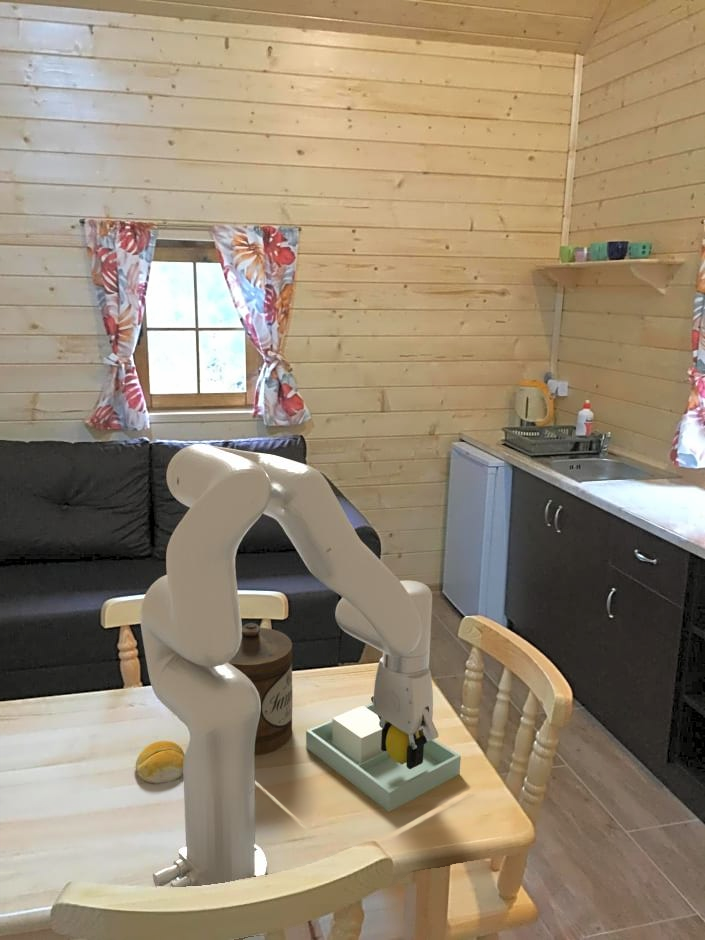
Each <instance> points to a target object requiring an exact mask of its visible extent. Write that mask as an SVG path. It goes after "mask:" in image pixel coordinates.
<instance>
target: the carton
mask: <svg viewBox="0 0 705 940" xmlns="http://www.w3.org/2000/svg"><path fill="white" fill-rule="evenodd" d="M364 706H365V705H361V706H358V707H355V708H353V709H351V710H348V711H346V712H344V713H342V714H339V715H336V716H334V717H332V719H331V720H332V743H333V744H334V745H335V746H337V747H338V748H339V749H341V750H342V751H344V752H345V753H346V754H348V755H349V756H350V757H352V758H353V759H354V760H356V761H357V762H358V763H362V762H364V761H366V760H368V759H370V758H372V757H375V756H377V755H379V754H381V753H383V752H385V751H382V750H381V738H382V729H383V728H381V727H380V725H379V722H380V719H379V717H378V715H377V714H375V713H374V712H372V711H370V710H369V709H367V708H366V707H364Z"/></svg>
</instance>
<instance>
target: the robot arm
mask: <svg viewBox="0 0 705 940" xmlns="http://www.w3.org/2000/svg"><path fill="white" fill-rule="evenodd" d="M166 483H167V484H166V485H167V487H168V490H169V491H170V493H171V495H172V496H173V497H174V498H175V499H176V500H177V501H178V502H179V503H180V504H182V505H184V506H186V507H188V508H189V509H188V510H187V512H185V514H184V516H183V517H182V519H181V520H180V521H179V522H178V525H176V527H175V529H174V531H173V532H172V534H171V536H170V538H169V541H168V544H167V547H166V552H165V553H166V556H165V561H166V562H165V564H166V565H165V566H166V567H165V568H166V569H165V570H166V574H165V575H163V576H161V577H159V578H157V580H155V581H154V582H153V583H152V584H151V585H150V587H148V589H147V591H146V593H145V595H144V597H143V600H142V602H141V607H140V618H139V619H140V628H141V636H142V642H143V647H144V654H145V655H144V656H145V660H146V665H147V673H148V676H149V682H150V685H151V688H152V691H153V692H154V695H155V697H156V698H157V699H158V701H159V702H160V703H161V704H162V705H163V706H164V707H166V709H168V710H169V711H170V712H171V713H173V715H175V716H176V717H177V718H178V719H179V721H181V722H182V723H183V724H184V725H185V726H186V728H187V730H188V732H189V742H188V745H187V747H186V750H185V751H184V761H183V773H182V778H183V779H182V780H183V798H184V799H183V801H184V802H183V803H184V822H185V823H184V824H185V825H184V826H185V831H184V832H185V847H182V848H180V849H179V851H178V855H179V857H178V858H179V859H177V860H175V861H173V865H171V866H168V867H164V868H162V869H160V870H158V871H157V872H155V873H153V874H152V879H153V880H152V881H153V883H154V885H155V887H156V886H162V887H163V886H165V885H167V884H170V887H171V886H172V887H186V886H202V885H211V884H218V883H225V882H230V881H235V880H239V879H245V878H251V877H256V876H260V875H265V874H266V875H267V869H268V867H267V866H268V865H267V859H266V855H265V853H264V852H263V851H262V849H261V848H260V847H259V846H258V845H257V844H256V810H255V809H256V805H255V804H256V802H255V799H256V798H255V797H256V795H255V790H256V789H255V756H254V751H255V738H256V732H257V727H258V722H259V717H260V711H261V701H260V696H259V693H258V691H257V689H256V687H255V686H254V684H253V683H252V682H251V680H250V679H249V678H248V677H247V676H246V675H245V674H243V673H242V672H241V671H240V670H238V669H237V668H235V667H234V666H232V665H231V664H229V663H228V662H229V661H230V660H231V659H232V658H233V657H234V656H235V654H236V653H237V651H238V649H239V647H240V644H241V639H242V627H243V623H242V615H241V608H240V607H241V606H240V601H239V592H238V584H237V575H236V574H237V572H236V556H237V551H238V549H239V546H240V544H241V542H242V541H243V538H244V537H245V535H246V534H247V532H248V531H249V530H250V529H251V528H252V526H253V525H255V523H256V522H257V521H258V520H259V519H260V517H262V515H265V516H268V517H270V518H272V519H274V520H275V521H277V523H279V525H280V526H281V528H282V530H283V531H284V532H285V534H286V536H287V537H288V539H289V540H290V542H291V544H292V545H293V546H294V548H295V550H296V552H297V553H298V554H299V556H300V558H301V560H302V561H303V562H304V564H305V566H306V567H307V569H308V570H309V572H310V573H311V574H312V575H313V576H314V577H315V578H316V579H318V580H319V581H320V582H321V583H322V584H323V585H324V586H326V587H327V588H328V589H330V590H331V591H333V592H334V593H336V594H337V595H339V596H340V597H341V599H340V600H339V601H338V603H337V604H336V607H335V614H334V615H335V621H336V624H337V625H338V626H339V628H340V629H341V630H342V631H344V632H345V633H346V634H348V635H349V636H352V638H355V639H357V640H359V641H360V642H363V643H364V644H367V645H368V646H371V647H372V648H375V649H377V650H378V651H380V652H381V653H382V657H380V659H379V662H378V664H377V668H376V671H375V680H374V687H373V696H371V698H370V701H371V703H373V709H374V711H375V712H376V714H377V715H378V717H379V719H380V722H379V725H380V727H381V728H383V729H382V738H381V750H382V751H387V749H386V737H387V733H388V730H389V728H390V727H391V725H394V726H395V727H397V728H398V729H400V730H402V731H403V732H405V733H407V734H408V736H409V741H410V746H408V747H407V768H408V769H412V768H414V767H416V766H418V765H420V764H422V763H423V752H424V744H426V743H427V742H429V741H431V740H433V739H435V740H436V739H437V738H439V732H438V730H437V728H436V726H435V724H434V721H433V717H434V716H433V715H434V694H433V693H434V692H433V691H434V690H433V679H432V673H431V670H430V652H431V630H432V612H433V611H432V609H433V594H432V590H431V589H430V587H429V586H428V585H426V584H425V583H424V582H420V581H417V580H410V579H409V580H408V579H407V580H399V579H398V577H397V576H396V575H395V574H394V573H393V572H392V571H391V570H390V568H388V567H387V566H386V564H385V563H384V562H382V561H381V560H380V558H379V557H378V556H377V555H376V554H375V553H374V552H373V551H372V550H371V549H370V548H369V547H368V546H367V545H366V544H365V543H364V542H363V541H362V539H360V536H358V534H357V532H356V530H355V528H354V527H353V525H352V523H351V522H350V519H349V518H348V515H347V514H346V512H345V511H344V509H343V507H342V505H341V504H340V501H339V500H338V498H337V496H336V494H335V493H334V491H333V488H332V487H331V485H330V484H329V482H328V480H327V479H326V478H325V476H324V475H323V473H321V472H320V471H319V470H318V469H316V468H314V467H312V466H311V465H308V464H306V463H302V462H298V461H295V460H293V459H289V458H286V457H282V456H278V455H275V454H271V453H270V454H269V453H263V452H262V453H261V452H254V451H246V450H240V449H236V448H235V449H234V448H230V447H229V448H227V447H222V446H216V445H211V444H204V443H197V444H191V445H188V446H185V447H183V448H182V449H180V450H179V451H177V452H176V453H175V454H174V455H173V457H172V458H171V459H170V462H169V463H168V466H167V469H166ZM416 732H419V738H417V739H416V734H415V733H416Z"/></svg>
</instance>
